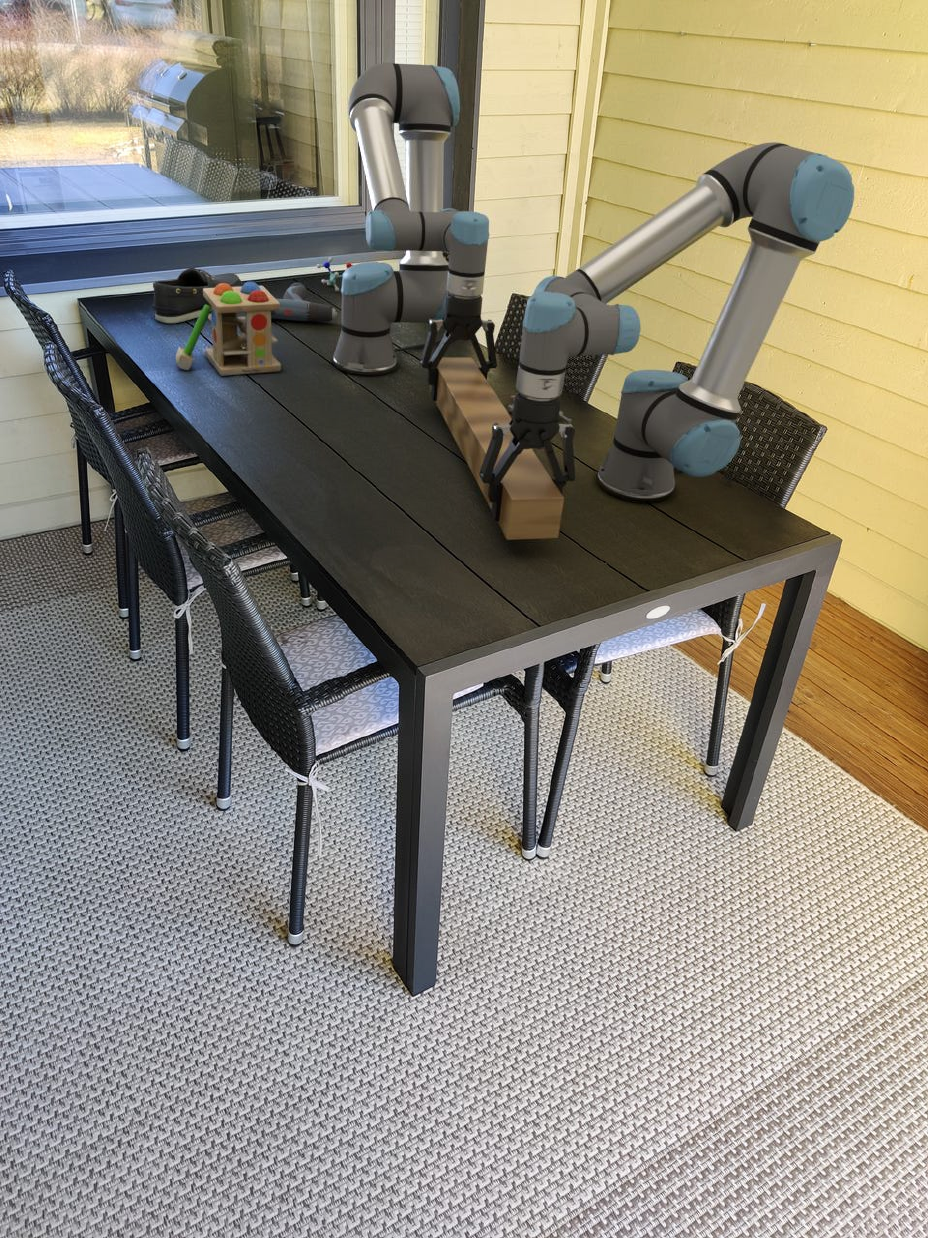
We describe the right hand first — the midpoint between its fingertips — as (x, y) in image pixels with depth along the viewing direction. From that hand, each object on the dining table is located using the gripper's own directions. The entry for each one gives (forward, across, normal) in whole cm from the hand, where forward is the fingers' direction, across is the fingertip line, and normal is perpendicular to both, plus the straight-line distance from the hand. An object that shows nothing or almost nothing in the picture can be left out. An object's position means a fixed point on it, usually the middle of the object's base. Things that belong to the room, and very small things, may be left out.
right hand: (522, 516), depth 170 cm
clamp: (+4, +19, +54) cm, 57 cm away
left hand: (0, 0, +54) cm, 54 cm away
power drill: (+4, -26, +126) cm, 128 cm away
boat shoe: (+4, -54, +129) cm, 140 cm away
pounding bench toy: (+5, -48, +86) cm, 99 cm away
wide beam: (+1, 0, +27) cm, 27 cm away
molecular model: (+4, -15, +150) cm, 151 cm away
